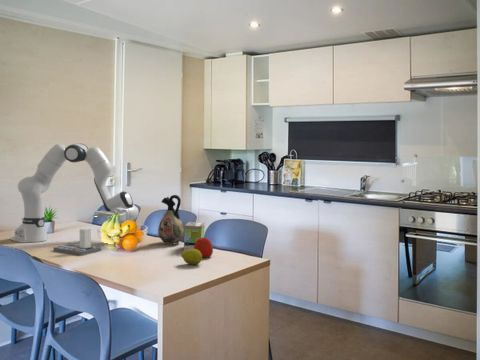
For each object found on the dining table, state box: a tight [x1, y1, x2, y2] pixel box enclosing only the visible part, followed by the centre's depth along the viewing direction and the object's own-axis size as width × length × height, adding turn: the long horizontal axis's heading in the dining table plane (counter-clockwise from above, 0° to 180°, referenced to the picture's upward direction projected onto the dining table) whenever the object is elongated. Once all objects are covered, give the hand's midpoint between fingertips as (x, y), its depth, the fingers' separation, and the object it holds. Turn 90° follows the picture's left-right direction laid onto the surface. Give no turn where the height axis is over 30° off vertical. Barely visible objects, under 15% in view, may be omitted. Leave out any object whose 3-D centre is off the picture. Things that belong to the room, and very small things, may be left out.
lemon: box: [180, 249, 203, 266], centre depth 223 cm, size 11×8×8 cm
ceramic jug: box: [157, 194, 185, 245], centre depth 275 cm, size 17×15×30 cm
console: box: [52, 242, 102, 257], centre depth 249 cm, size 21×14×3 cm, turn 62°
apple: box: [194, 237, 214, 258], centre depth 241 cm, size 10×10×10 cm
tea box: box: [183, 221, 205, 252], centre depth 261 cm, size 15×10×15 cm, turn 179°
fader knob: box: [78, 227, 93, 249], centre depth 246 cm, size 6×5×10 cm
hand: (100, 216), depth 259 cm, fingers open, 8 cm apart
